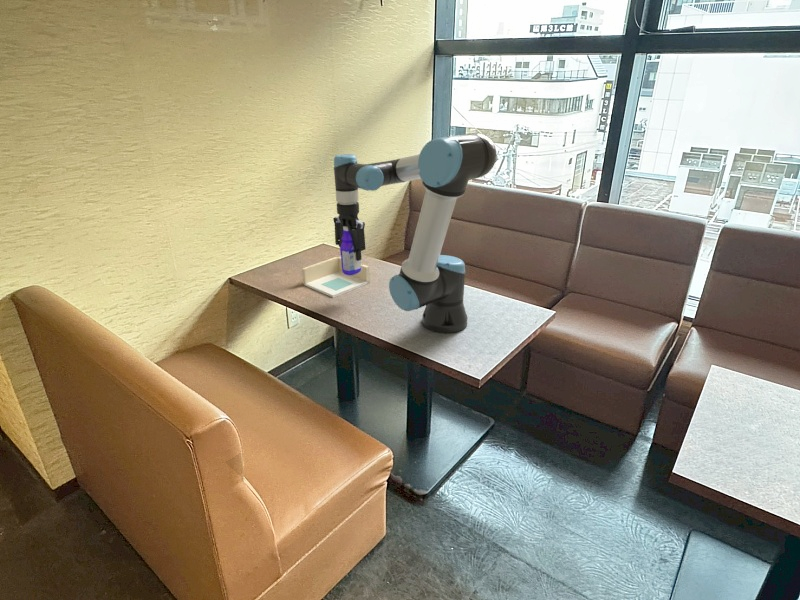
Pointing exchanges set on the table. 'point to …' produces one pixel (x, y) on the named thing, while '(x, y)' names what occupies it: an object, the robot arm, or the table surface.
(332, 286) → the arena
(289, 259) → the table surface
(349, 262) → the bottle
